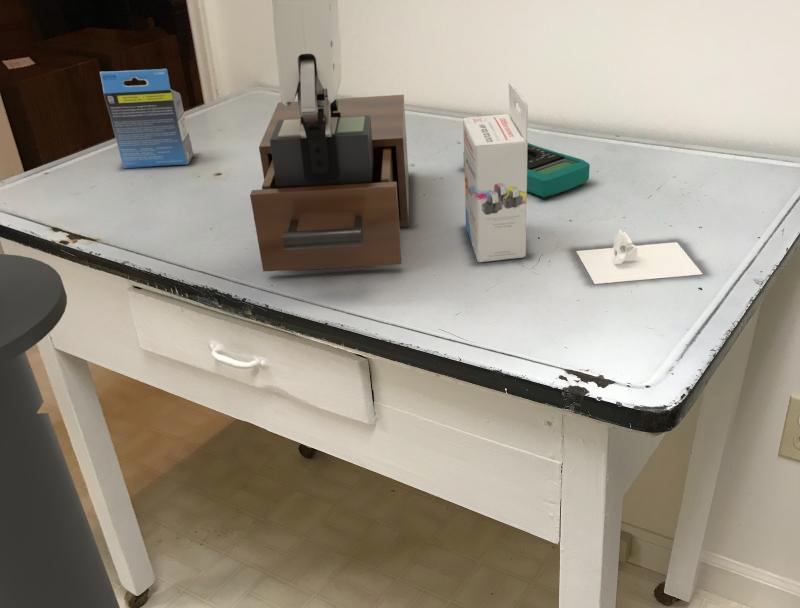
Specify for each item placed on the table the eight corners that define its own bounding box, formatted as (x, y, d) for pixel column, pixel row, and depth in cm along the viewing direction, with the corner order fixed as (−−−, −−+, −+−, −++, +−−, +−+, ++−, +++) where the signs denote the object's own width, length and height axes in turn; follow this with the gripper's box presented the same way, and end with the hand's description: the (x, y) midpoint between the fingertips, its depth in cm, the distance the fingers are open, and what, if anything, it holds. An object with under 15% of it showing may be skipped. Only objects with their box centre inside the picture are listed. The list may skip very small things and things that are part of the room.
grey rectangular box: (276, 187, 80) (269, 138, 78) (284, 165, 85) (277, 118, 83) (371, 182, 80) (367, 132, 77) (373, 160, 85) (370, 113, 82)
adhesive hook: (607, 256, 82) (610, 226, 80) (634, 254, 82) (637, 224, 81) (616, 270, 80) (619, 239, 78) (643, 268, 80) (647, 237, 78)
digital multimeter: (504, 154, 108) (504, 131, 106) (591, 184, 98) (593, 158, 96) (459, 169, 104) (458, 145, 103) (545, 202, 94) (546, 176, 93)
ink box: (463, 228, 90) (460, 84, 81) (510, 224, 90) (511, 79, 82) (476, 263, 83) (474, 110, 74) (527, 258, 83) (531, 104, 75)
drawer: (401, 287, 78) (395, 206, 73) (255, 295, 78) (241, 215, 74) (402, 206, 94) (398, 135, 89) (281, 212, 94) (270, 143, 90)
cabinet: (408, 227, 91) (403, 137, 86) (272, 234, 92) (258, 146, 86) (408, 175, 104) (403, 94, 98) (289, 182, 104) (278, 102, 99)
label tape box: (194, 155, 115) (175, 60, 108) (187, 166, 112) (167, 68, 105) (130, 159, 116) (107, 64, 109) (122, 169, 112) (97, 72, 105)
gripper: (272, -54, 79) (296, 139, 89) (242, -23, 65) (275, 202, 75) (352, -59, 79) (367, 136, 89) (340, -29, 65) (359, 198, 75)
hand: (325, 164), depth 82 cm, fingers closed on grey rectangular box, 6 cm apart
